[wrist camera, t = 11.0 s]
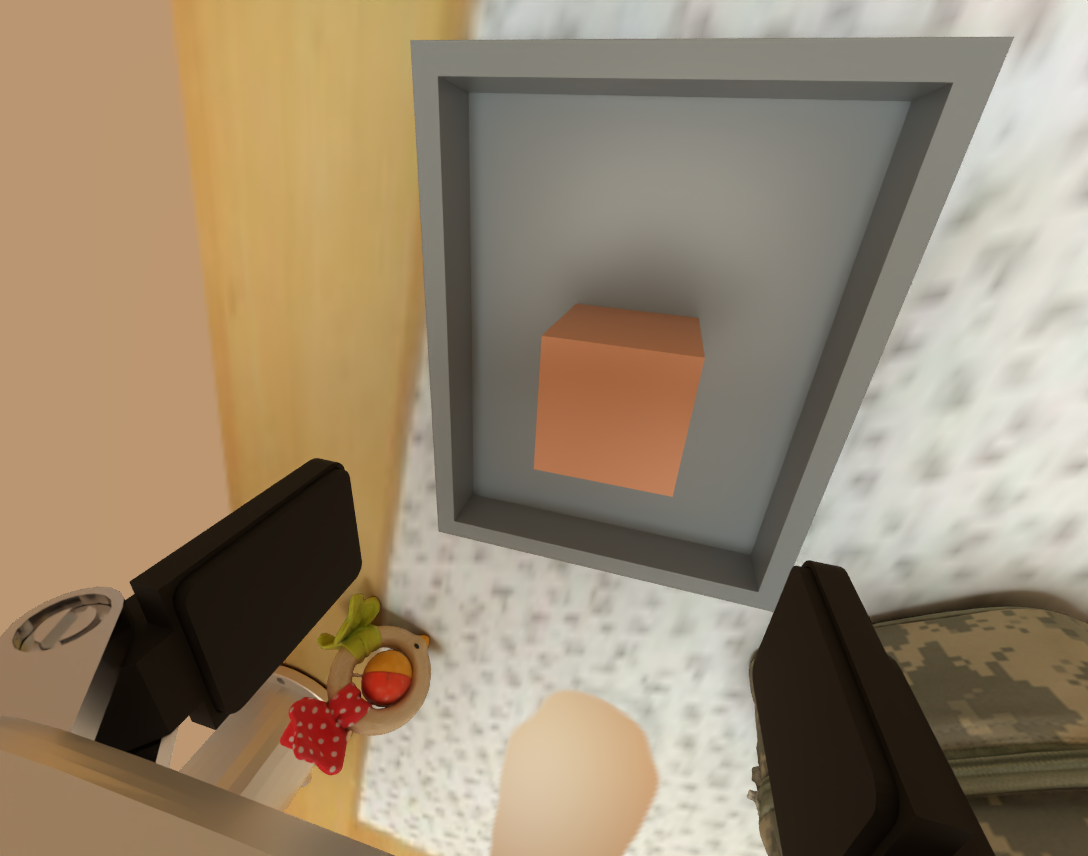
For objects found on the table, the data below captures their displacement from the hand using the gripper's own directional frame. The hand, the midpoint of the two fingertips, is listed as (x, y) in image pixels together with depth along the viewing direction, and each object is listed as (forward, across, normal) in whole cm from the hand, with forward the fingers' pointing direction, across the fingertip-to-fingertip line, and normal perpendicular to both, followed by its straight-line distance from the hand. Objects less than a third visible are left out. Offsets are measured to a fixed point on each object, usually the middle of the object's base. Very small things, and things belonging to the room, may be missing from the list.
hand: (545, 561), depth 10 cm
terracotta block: (+14, 0, 0) cm, 14 cm away
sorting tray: (+15, 0, -1) cm, 15 cm away
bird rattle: (+16, +14, +24) cm, 32 cm away
